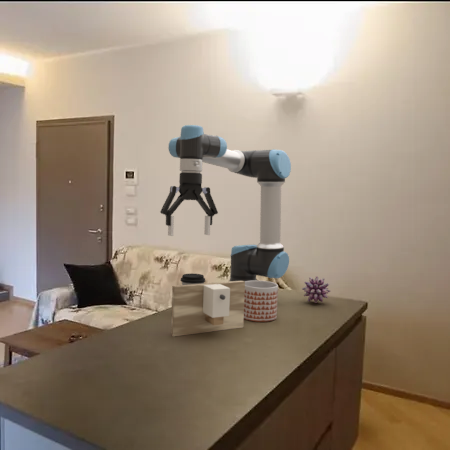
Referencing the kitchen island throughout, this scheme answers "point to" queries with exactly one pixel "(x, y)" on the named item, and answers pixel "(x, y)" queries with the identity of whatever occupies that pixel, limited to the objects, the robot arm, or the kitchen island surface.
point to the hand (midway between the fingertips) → (189, 235)
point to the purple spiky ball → (316, 289)
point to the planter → (260, 301)
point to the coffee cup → (192, 279)
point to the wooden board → (193, 309)
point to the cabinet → (216, 300)
